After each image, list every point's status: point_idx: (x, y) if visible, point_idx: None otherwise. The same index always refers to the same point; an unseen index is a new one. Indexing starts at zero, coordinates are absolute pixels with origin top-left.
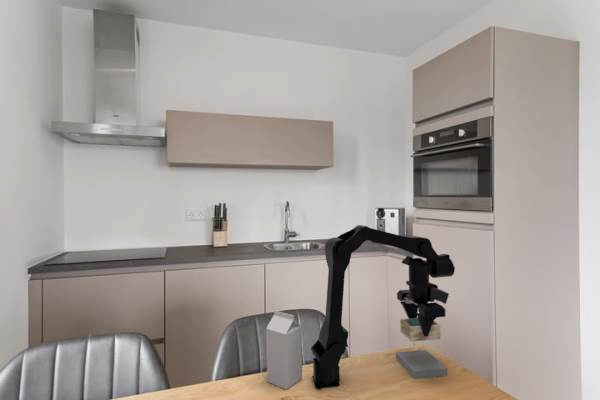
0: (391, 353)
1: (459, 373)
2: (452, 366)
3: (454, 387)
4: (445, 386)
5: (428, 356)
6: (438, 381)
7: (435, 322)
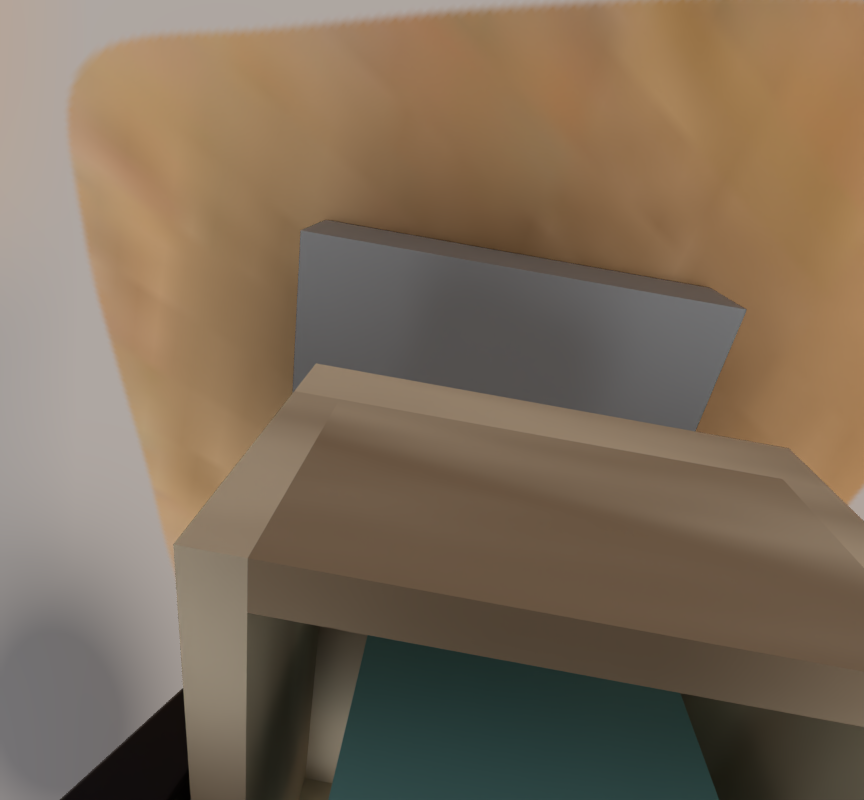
0: (187, 451)
1: (724, 115)
2: (578, 72)
3: (857, 350)
4: (801, 404)
5: (453, 315)
6: (716, 403)
7: (749, 663)
